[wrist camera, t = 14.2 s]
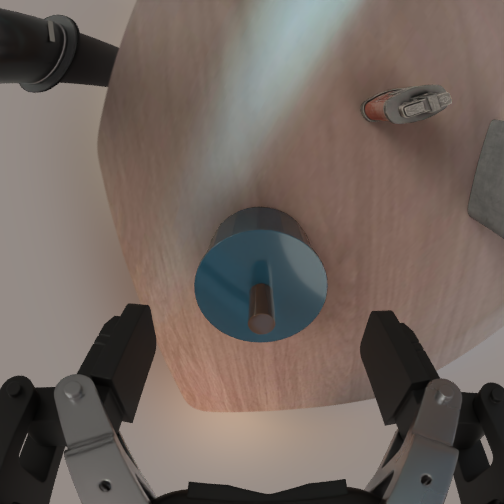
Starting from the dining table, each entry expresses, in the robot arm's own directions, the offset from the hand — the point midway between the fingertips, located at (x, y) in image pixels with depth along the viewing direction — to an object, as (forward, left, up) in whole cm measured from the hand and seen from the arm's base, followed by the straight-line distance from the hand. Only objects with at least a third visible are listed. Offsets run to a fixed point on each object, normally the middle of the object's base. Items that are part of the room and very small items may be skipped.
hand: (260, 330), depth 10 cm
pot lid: (+5, -8, -18) cm, 20 cm away
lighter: (+8, +17, -27) cm, 32 cm away
